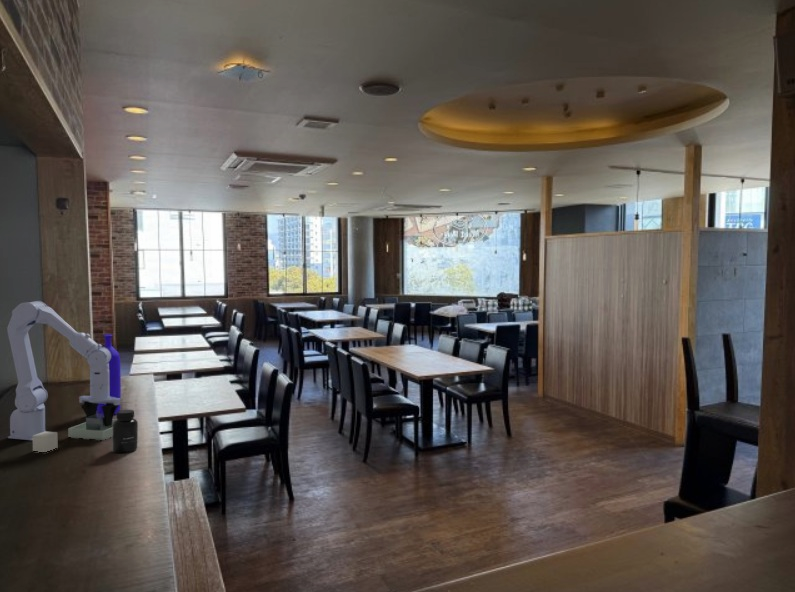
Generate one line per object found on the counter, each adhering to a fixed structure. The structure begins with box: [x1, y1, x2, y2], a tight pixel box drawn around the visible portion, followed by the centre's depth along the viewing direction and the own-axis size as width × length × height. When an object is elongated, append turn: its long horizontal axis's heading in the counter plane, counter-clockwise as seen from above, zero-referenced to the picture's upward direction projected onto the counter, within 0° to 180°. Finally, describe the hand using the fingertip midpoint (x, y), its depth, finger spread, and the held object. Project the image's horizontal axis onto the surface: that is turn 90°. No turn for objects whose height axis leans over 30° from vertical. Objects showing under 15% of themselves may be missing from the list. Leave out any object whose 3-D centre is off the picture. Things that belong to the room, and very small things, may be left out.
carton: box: [32, 430, 59, 453], centre depth 167 cm, size 4×4×5 cm
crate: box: [67, 418, 117, 441], centre depth 184 cm, size 13×13×3 cm
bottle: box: [96, 334, 122, 415], centre depth 209 cm, size 8×8×30 cm
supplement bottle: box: [112, 409, 139, 454], centre depth 168 cm, size 7×7×12 cm
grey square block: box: [85, 413, 112, 431], centre depth 184 cm, size 6×6×5 cm
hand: (100, 424), depth 184 cm, fingers closed on grey square block, 5 cm apart
